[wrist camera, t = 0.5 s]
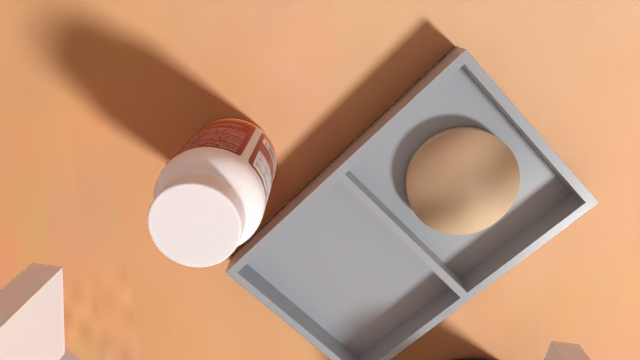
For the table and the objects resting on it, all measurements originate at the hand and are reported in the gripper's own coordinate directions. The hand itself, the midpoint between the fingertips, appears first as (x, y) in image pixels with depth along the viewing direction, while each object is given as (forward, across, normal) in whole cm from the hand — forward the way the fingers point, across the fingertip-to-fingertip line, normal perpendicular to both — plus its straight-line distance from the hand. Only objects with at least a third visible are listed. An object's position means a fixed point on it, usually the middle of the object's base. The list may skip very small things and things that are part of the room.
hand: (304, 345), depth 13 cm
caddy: (+22, +7, -5) cm, 23 cm away
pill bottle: (+22, -6, -2) cm, 23 cm away
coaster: (+21, +10, -1) cm, 23 cm away
